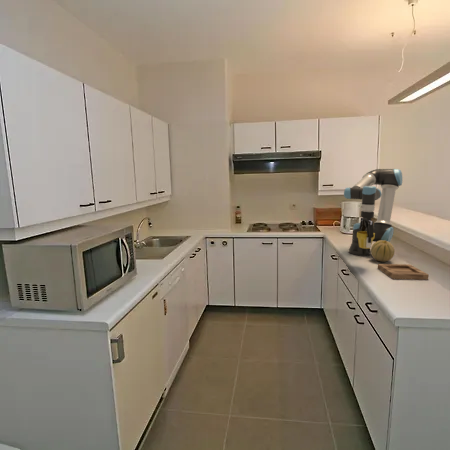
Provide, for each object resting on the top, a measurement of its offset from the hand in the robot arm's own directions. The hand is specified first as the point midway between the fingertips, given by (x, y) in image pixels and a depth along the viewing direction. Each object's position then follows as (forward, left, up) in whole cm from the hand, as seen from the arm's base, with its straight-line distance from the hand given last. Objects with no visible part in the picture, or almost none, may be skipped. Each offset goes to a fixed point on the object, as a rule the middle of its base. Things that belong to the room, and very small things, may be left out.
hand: (364, 245), depth 205 cm
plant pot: (0, 0, -2) cm, 2 cm away
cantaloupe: (-14, +18, -14) cm, 27 cm away
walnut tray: (+13, +18, -14) cm, 26 cm away
